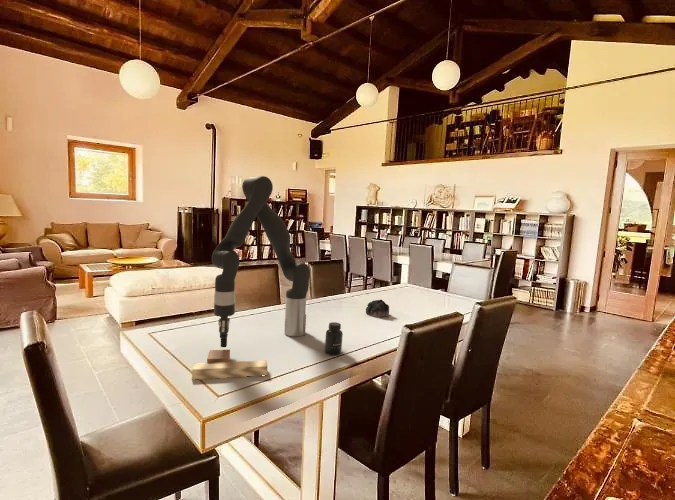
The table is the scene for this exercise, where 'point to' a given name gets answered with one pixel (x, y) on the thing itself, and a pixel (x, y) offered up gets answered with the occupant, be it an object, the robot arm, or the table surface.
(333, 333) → the supplement bottle
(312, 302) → the table surface
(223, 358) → the walnut block
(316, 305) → the table surface
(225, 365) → the ash board
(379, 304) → the black rock
